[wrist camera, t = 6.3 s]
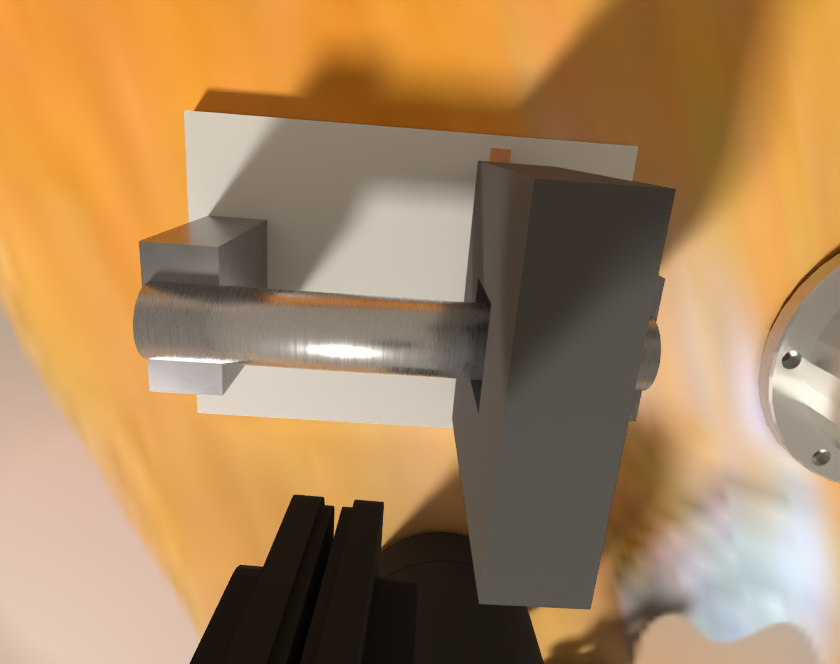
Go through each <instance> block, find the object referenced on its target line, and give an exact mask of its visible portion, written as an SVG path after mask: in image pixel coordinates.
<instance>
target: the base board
mask: <svg viewBox="0 0 840 664" xmlns="http://www.w3.org/2000/svg"><path fill="white" fill-rule="evenodd" d="M184 123H185V145H186V167H187V189H188V211H189V222H192V221H195V220H197V219H200V218H203V217H206V216H208V215H209V216H223V217H236V218H250V219H264V220H267V288H268V289H282V290H297V291H311V292H326V293H340V294H355V295H369V296H384V297H398V298H413V299H428V300H442V301H457V302H464V294H465V284H466V274H467V264H468V254H469V245H470V235H471V225H472V215H473V205H474V195H475V185H476V175H477V165H478V161H490V162H503V163H516V164H528V165H541V166H554V167H560V168H565V169H571V170H576V171H581V172H587V173H592V174H597V175H603V176H608V177H613V178H618V179H624V180H629V181H632V180H633V175H634V169H635V164H636V158H637V153H638V147H639V146H629V145H616V144H603V143H591V142H578V141H566V140H553V139H540V138H528V137H515V136H502V135H490V134H477V133H465V132H452V131H439V130H427V129H414V128H402V127H389V126H376V125H364V124H351V123H338V122H326V121H313V120H301V119H288V118H275V117H263V116H250V115H237V114H225V113H212V112H200V111H187V110H184ZM455 383H456V379H454V378H438V377H422V376H407V375H391V374H376V373H360V372H344V371H329V370H313V369H297V368H282V367H266V366H251V365H245V366H244V368H243V369H242V370H241V372H240V373H239V374H238V376H237V377H236V378H235V380H234V381H233V382H232V384H231V385H230V387H229V388H228V389H227V391H226V392H225V393H224V395H223V396H218V395H202V394H197V409H198V413H208V414H224V415H241V416H257V417H274V418H290V419H306V420H323V421H339V422H356V423H372V424H388V425H405V426H421V427H438V428H453V422H452V413H453V403H454V393H455Z"/></svg>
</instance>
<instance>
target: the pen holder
mask: <svg viewBox="0 0 840 664" xmlns="http://www.w3.org/2000/svg"><path fill="white" fill-rule="evenodd" d="M379 577H388V578H400V579H412V580H418V593H417V612H416V631H415V651H414V664H544V662H543V659H542V656H541V652H540V649H539V646H538V642H537V639H536V636H535V632H534V629H533V626H532V622H531V619H530V616H529V613H528V610H527V607H526V606H511V605H491V604H479V601H478V594H477V587H476V580H475V573H474V566H473V559H472V553H471V546H470V539H469V537H467V536H463V535H459V534H453V533H427V534H422V535H417V536H414V537H411V538H408V539H405V540H403V541H401V542H399V543H396V544H395V545H393V546H391V547H390V548H388V549H387V550H385V551H384V552H383V553H382V554H381V557H380V572H379Z"/></svg>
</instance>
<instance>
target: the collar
mask: <svg viewBox="0 0 840 664" xmlns="http://www.w3.org/2000/svg"><path fill="white" fill-rule="evenodd" d="M675 190H676V189H672V188H666V187H661V186H656V185H650V184H645V183H640V182H634V181H629V180H624V179H618V178H613V177H608V176H603V175H597V174H592V173H587V172H581V171H576V170H571V169H565V168H560V167H554V166H541V165H528V164H516V163H503V162H490V161H478V165H477V175H476V185H475V195H474V205H473V215H472V225H471V235H470V245H469V254H468V264H467V274H466V284H465V294H464V302H471V303H486V304H491V311H490V319H489V328H488V337H487V345H486V354H485V363H484V371H483V380H469V379H456V383H455V393H454V403H453V413H452V422H453V429H454V436H455V443H456V449H457V456H458V463H459V470H460V477H461V484H462V491H463V498H464V504H465V511H466V518H467V525H468V532H469V539H470V546H471V553H472V559H473V566H474V573H475V580H476V587H477V594H478V601H479V604H491V605H511V606H531V607H550V608H570V609H591V604H592V599H593V594H594V589H595V584H596V579H597V574H598V569H599V564H600V559H601V554H602V549H603V544H604V540H605V535H606V530H607V525H608V520H609V515H610V510H611V505H612V500H613V495H614V490H615V485H616V480H617V476H618V471H619V466H620V461H621V456H622V451H623V446H624V441H625V436H626V431H627V426H628V421H629V416H630V411H631V407H632V402H633V397H634V392H635V387H636V382H637V377H638V372H639V367H640V362H641V357H642V352H643V347H644V342H645V338H646V333H647V328H648V323H649V318H650V313H651V308H652V303H653V298H654V293H655V288H656V283H657V278H658V274H659V269H660V264H661V259H662V254H663V249H664V244H665V239H666V234H667V229H668V224H669V219H670V214H671V209H672V205H673V200H674V195H675Z"/></svg>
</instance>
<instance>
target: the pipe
mask: <svg viewBox="0 0 840 664" xmlns="http://www.w3.org/2000/svg"><path fill="white" fill-rule="evenodd" d="M139 249H140V263H141V276H142V289H141V291H140V293H139V295H138V298H137V301H136V305H135V310H134V318H133V332H134V340H135V344H136V347H137V350H138V352H139V353H140V355H141V356H142V357H143V358H145V359H147V360H148V373H149V387H150V391H154V392H170V393H186V394H202V395H218V396H223V395H224V393H225V392H226V391H227V389H228V388H229V387H230V385H231V384H232V382H233V381H234V380H235V378H236V377H237V376H238V374H239V373H240V372H241V370H242V369H243V368H244V366H245V365H251V366H266V367H282V368H297V369H313V370H329V371H344V372H360V373H376V374H391V375H407V376H422V377H438V378H454V379H469V380H483V371H484V363H485V354H486V345H487V337H488V328H489V319H490V311H491V304H486V303H471V302H457V301H442V300H428V299H413V298H398V297H384V296H369V295H355V294H340V293H326V292H311V291H297V290H282V289H268V288H267V220H264V219H250V218H236V217H223V216H209V215H208V216H206V217H203V218H200V219H197V220H195V221H192V222H189V223H187V224H184V225H181V226H179V227H176V228H173V229H171V230H168V231H165V232H163V233H160V234H157V235H155V236H152V237H149V238H147V239H144V240H141V241H139ZM664 282H665V278H663V277H661V276H659V275H658V278H657V283H656V288H655V293H654V298H653V303H652V308H651V313H650V318H649V323H648V328H647V333H646V338H645V342H644V347H643V352H642V357H641V362H640V367H639V372H638V377H637V382H636V387H635V392H634V397H633V402H632V407H631V411H630V416H629V421H636V417H637V412H638V407H639V402H640V397H641V393H642V391H643V390H647V389H648V388H649V387H650V386H651V385H652V383H653V382H654V380H655V377H656V375H657V372H658V368H659V363H660V355H661V341H660V334H659V329H658V326H657V324H656V320H657V315H658V311H659V306H660V301H661V296H662V291H663V286H664Z"/></svg>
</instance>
